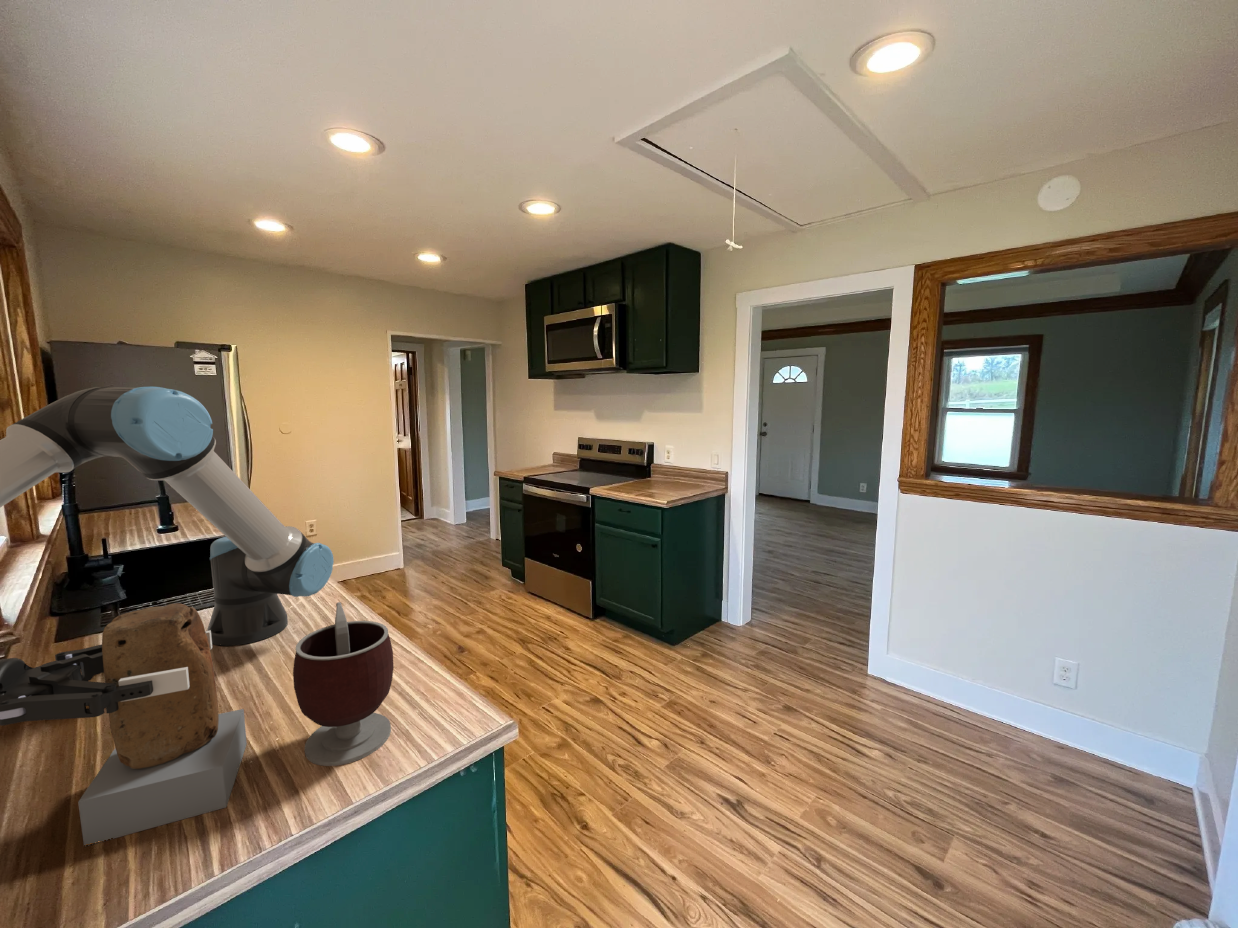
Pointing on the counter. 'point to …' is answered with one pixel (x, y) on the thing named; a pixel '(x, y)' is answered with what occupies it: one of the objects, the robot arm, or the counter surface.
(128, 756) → the block
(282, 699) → the counter surface
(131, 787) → the grey base block
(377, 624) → the mate gourd
